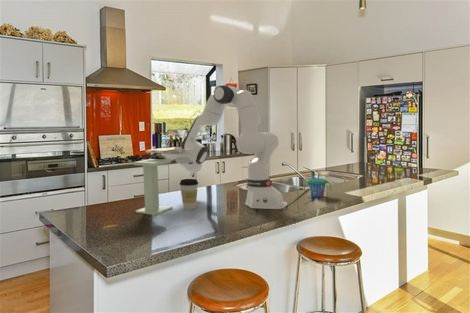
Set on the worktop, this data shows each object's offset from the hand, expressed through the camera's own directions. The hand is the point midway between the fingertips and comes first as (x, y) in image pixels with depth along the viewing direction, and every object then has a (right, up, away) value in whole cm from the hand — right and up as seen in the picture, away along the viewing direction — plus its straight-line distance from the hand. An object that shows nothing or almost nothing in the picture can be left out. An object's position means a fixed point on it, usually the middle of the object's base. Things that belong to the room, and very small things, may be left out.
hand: (171, 148), depth 207 cm
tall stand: (-7, -33, -12) cm, 36 cm away
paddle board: (-2, -2, -4) cm, 4 cm away
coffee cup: (+11, -32, -8) cm, 35 cm away
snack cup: (+84, -28, +15) cm, 89 cm away
